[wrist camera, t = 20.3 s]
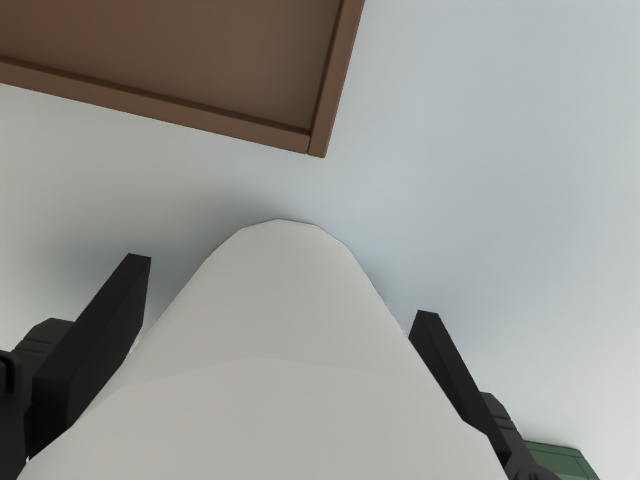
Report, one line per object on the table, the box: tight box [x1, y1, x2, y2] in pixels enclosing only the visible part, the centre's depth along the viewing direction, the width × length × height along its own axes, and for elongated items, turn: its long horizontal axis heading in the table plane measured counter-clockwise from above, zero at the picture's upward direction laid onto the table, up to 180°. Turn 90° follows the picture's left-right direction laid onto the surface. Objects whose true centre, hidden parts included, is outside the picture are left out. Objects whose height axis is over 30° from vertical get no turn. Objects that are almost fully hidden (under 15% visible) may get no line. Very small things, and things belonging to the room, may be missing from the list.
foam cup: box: [16, 219, 508, 480], centre depth 13 cm, size 10×9×13 cm
